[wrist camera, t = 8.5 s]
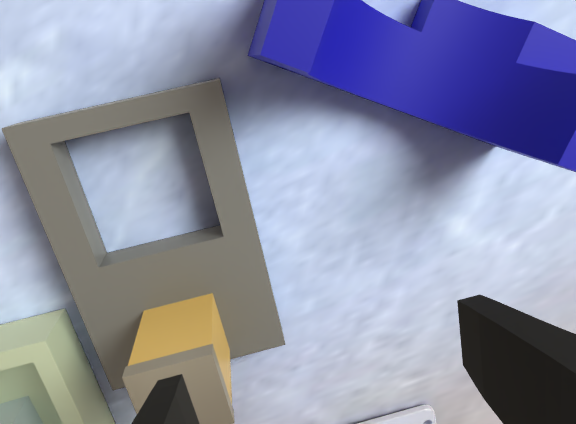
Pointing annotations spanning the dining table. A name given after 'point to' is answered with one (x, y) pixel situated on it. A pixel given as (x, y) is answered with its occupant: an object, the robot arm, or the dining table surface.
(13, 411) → the grey-green rectangular block
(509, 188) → the dining table surface
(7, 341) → the parts tray
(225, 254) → the block
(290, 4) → the cable clip
